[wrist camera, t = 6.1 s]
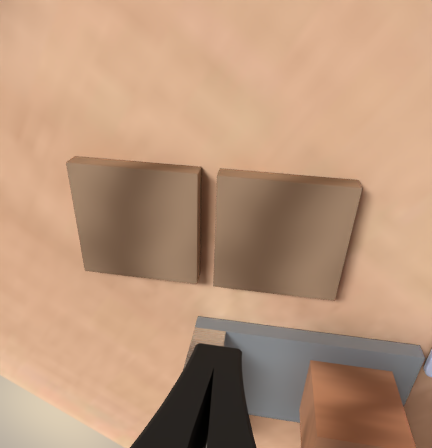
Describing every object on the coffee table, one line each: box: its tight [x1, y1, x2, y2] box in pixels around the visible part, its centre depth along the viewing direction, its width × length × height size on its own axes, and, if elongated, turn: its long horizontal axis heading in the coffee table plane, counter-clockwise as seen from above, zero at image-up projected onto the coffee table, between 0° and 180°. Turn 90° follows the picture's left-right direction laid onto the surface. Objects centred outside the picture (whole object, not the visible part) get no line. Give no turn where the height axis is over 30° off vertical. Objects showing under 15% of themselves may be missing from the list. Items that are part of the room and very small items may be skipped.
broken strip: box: [66, 156, 362, 301], centre depth 21 cm, size 15×7×1 cm, turn 88°
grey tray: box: [183, 316, 425, 447], centre depth 24 cm, size 14×8×4 cm, turn 88°
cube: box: [299, 360, 416, 448], centre depth 23 cm, size 5×5×5 cm
